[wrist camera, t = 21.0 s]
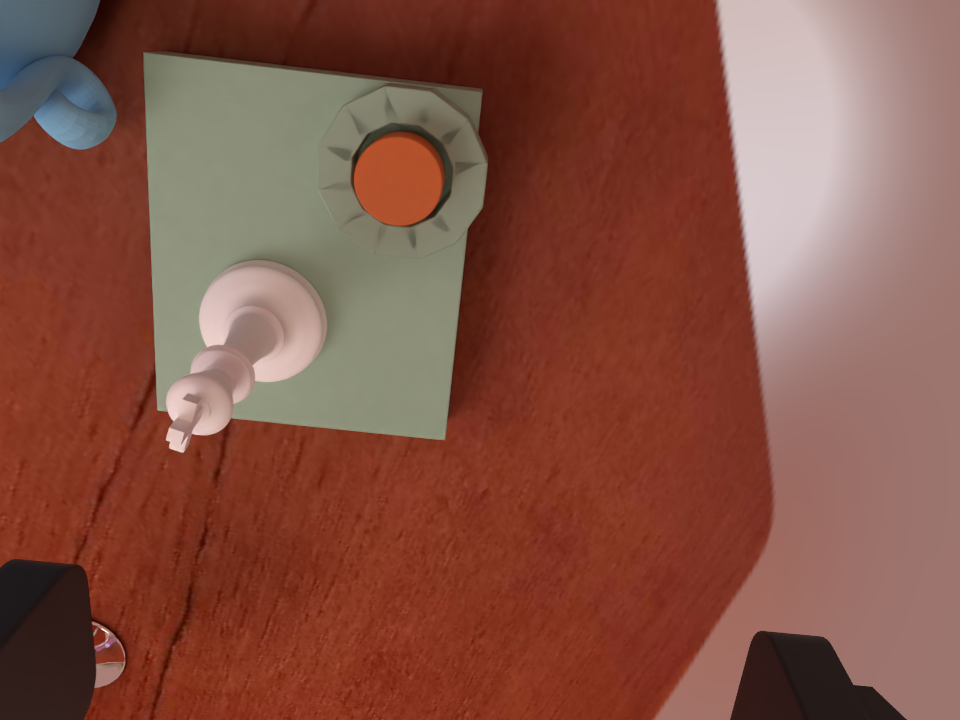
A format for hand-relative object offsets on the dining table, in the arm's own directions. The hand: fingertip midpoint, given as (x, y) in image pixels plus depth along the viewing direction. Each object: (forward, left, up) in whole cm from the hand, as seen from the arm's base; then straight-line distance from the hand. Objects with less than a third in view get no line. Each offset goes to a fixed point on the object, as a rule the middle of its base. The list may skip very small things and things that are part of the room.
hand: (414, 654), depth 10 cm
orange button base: (+6, +2, -25) cm, 25 cm away
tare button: (+2, -2, -21) cm, 22 cm away
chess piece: (+7, +4, -23) cm, 24 cm away
